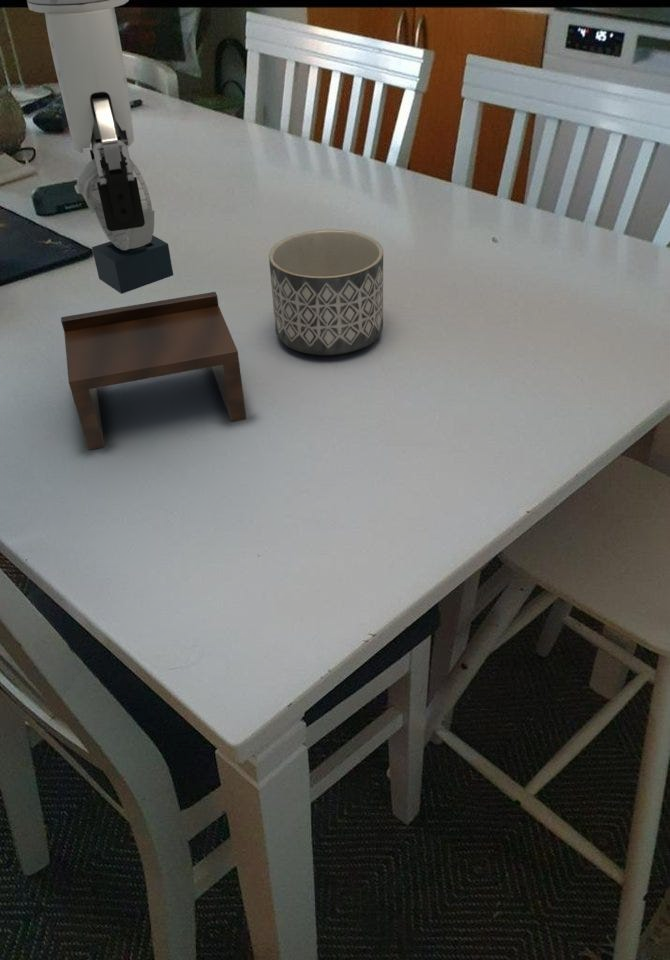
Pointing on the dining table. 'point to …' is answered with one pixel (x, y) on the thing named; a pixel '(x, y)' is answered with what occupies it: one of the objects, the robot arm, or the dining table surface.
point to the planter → (327, 291)
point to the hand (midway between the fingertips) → (121, 208)
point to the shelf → (148, 352)
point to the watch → (126, 240)
